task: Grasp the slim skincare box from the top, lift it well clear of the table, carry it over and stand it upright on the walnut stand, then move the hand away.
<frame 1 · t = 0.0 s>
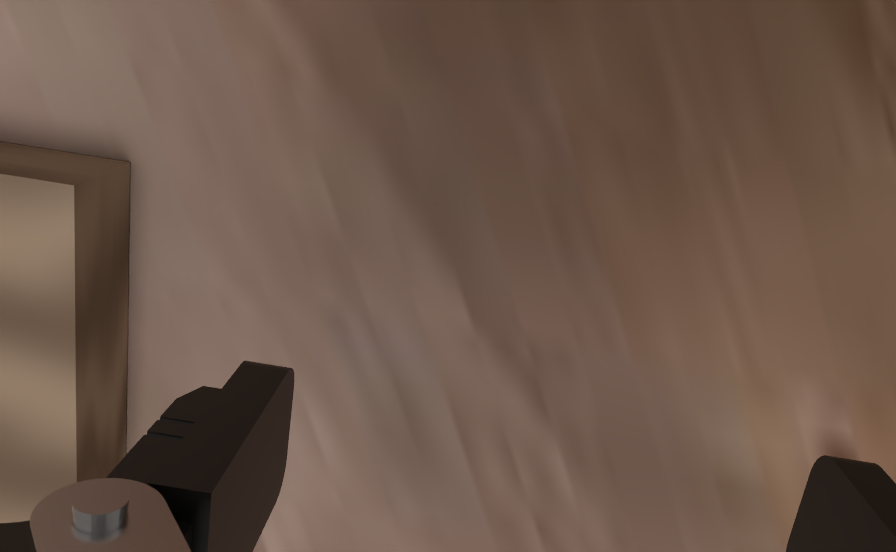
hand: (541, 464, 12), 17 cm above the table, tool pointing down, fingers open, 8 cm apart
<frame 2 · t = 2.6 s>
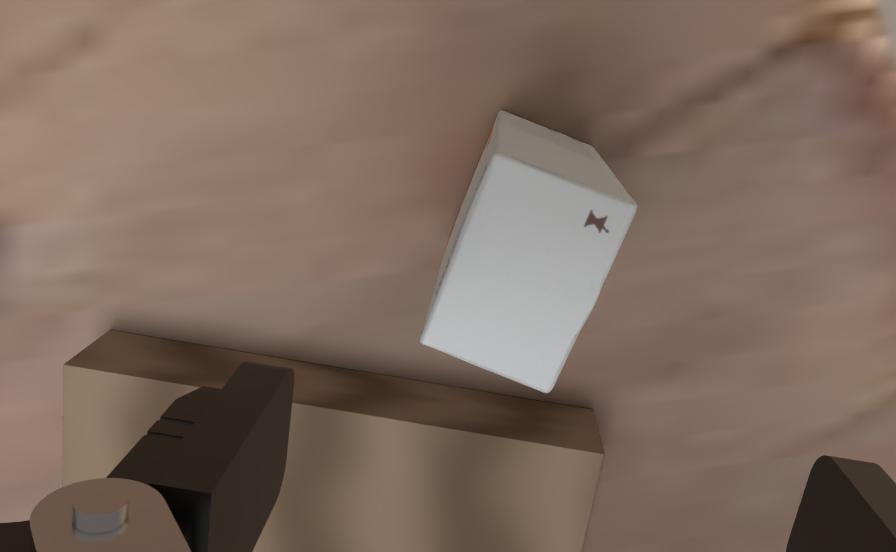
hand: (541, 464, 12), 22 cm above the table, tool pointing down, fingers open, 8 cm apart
walnut stand: (329, 539, 38), on the table
skincare box: (517, 194, 33), on the table
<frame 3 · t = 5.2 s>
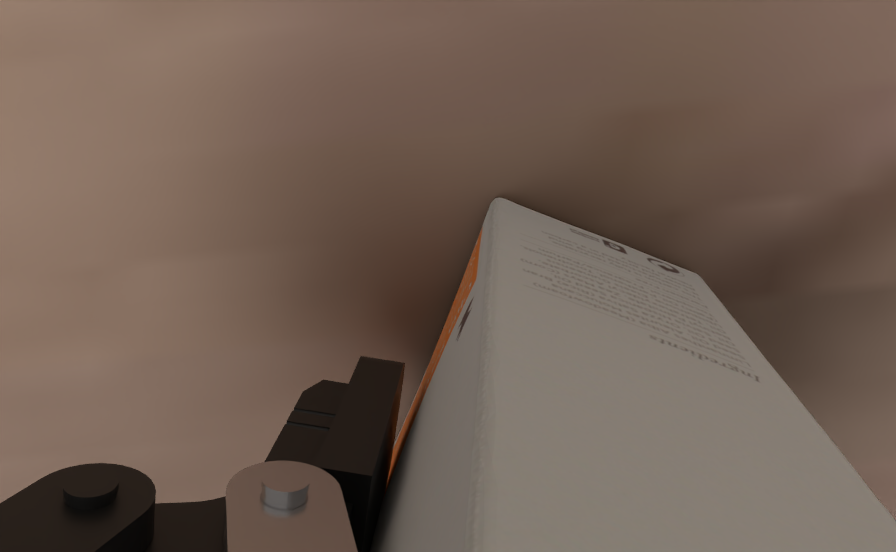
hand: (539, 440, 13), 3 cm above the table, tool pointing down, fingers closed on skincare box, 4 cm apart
skincare box: (532, 365, 16), on the table, touching gripper
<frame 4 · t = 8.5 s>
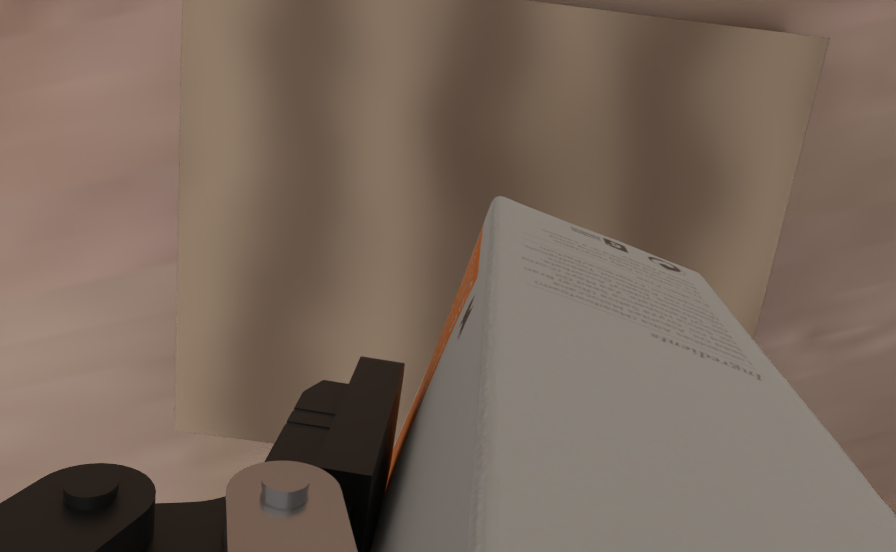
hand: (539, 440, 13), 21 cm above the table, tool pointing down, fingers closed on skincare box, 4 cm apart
walnut stand: (473, 227, 33), on the table
skincare box: (533, 364, 16), point 18 cm above the table, touching gripper
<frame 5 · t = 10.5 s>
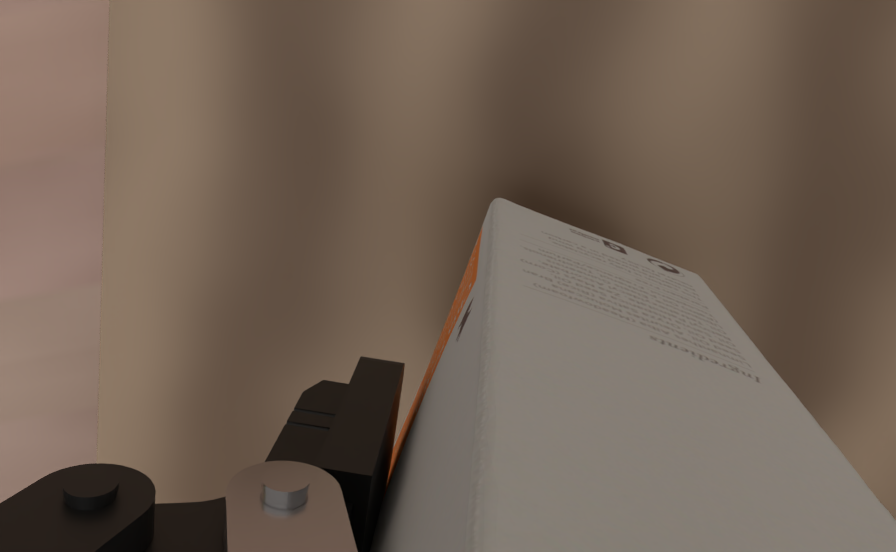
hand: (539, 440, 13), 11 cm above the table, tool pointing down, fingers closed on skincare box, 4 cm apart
walnut stand: (529, 249, 24), on the table
skincare box: (532, 365, 16), point 8 cm above the table, touching gripper
when the fingers open (8 cm above the table, at t = 12.0 s): skincare box drops 1 cm, resting on walnut stand.
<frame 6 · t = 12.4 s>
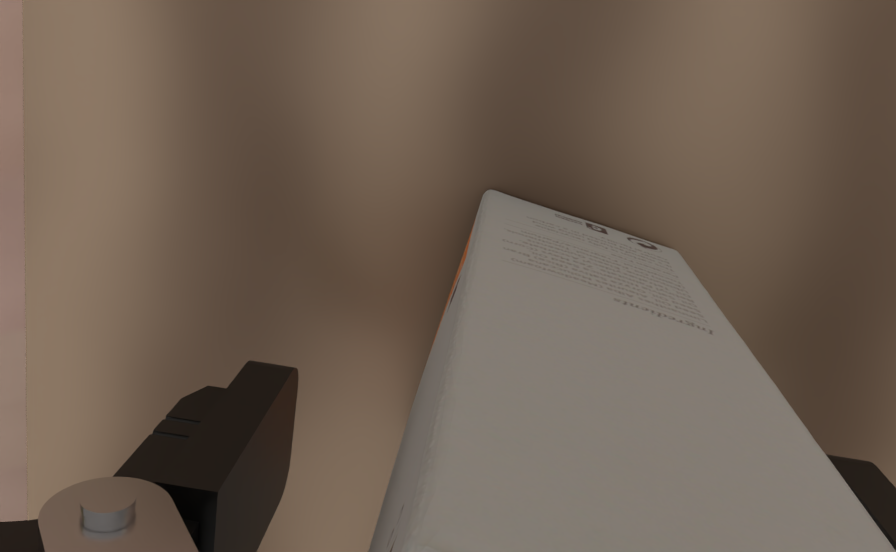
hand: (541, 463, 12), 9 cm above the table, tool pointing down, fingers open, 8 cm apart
walnut stand: (522, 286, 21), on the table
skincare box: (531, 343, 17), point 4 cm above the table, touching walnut stand
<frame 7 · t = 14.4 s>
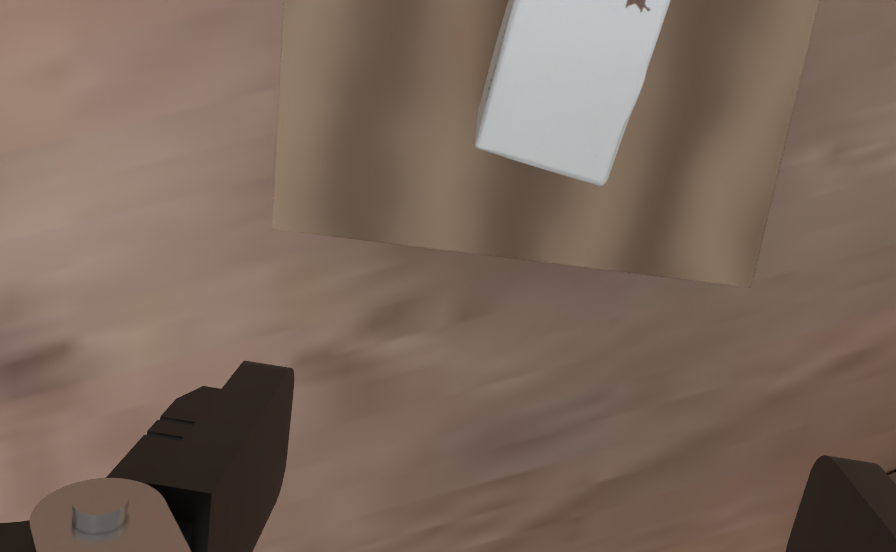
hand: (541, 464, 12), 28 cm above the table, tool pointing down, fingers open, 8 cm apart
walnut stand: (534, 53, 37), on the table
skincare box: (541, 56, 34), point 4 cm above the table, touching walnut stand
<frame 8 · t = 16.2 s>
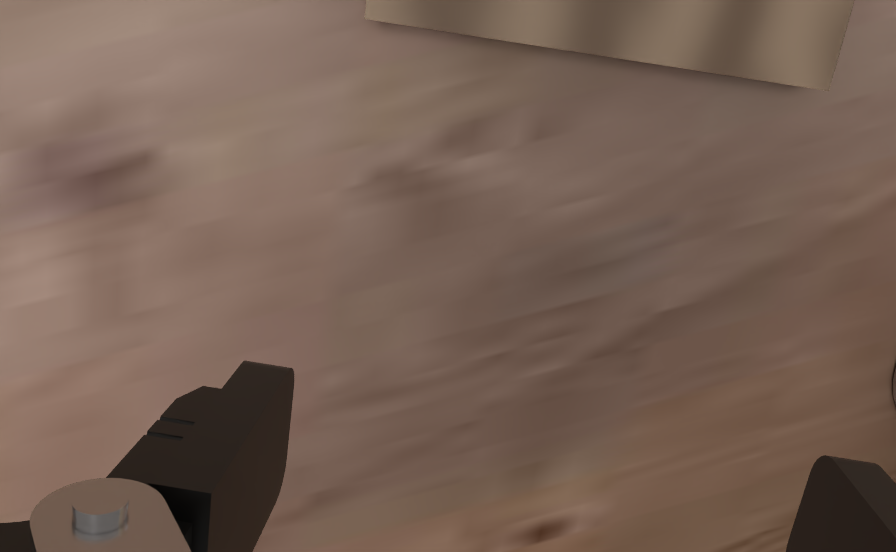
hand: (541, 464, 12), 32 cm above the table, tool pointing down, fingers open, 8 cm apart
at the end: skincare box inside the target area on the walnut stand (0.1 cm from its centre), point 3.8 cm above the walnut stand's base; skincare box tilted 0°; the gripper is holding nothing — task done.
